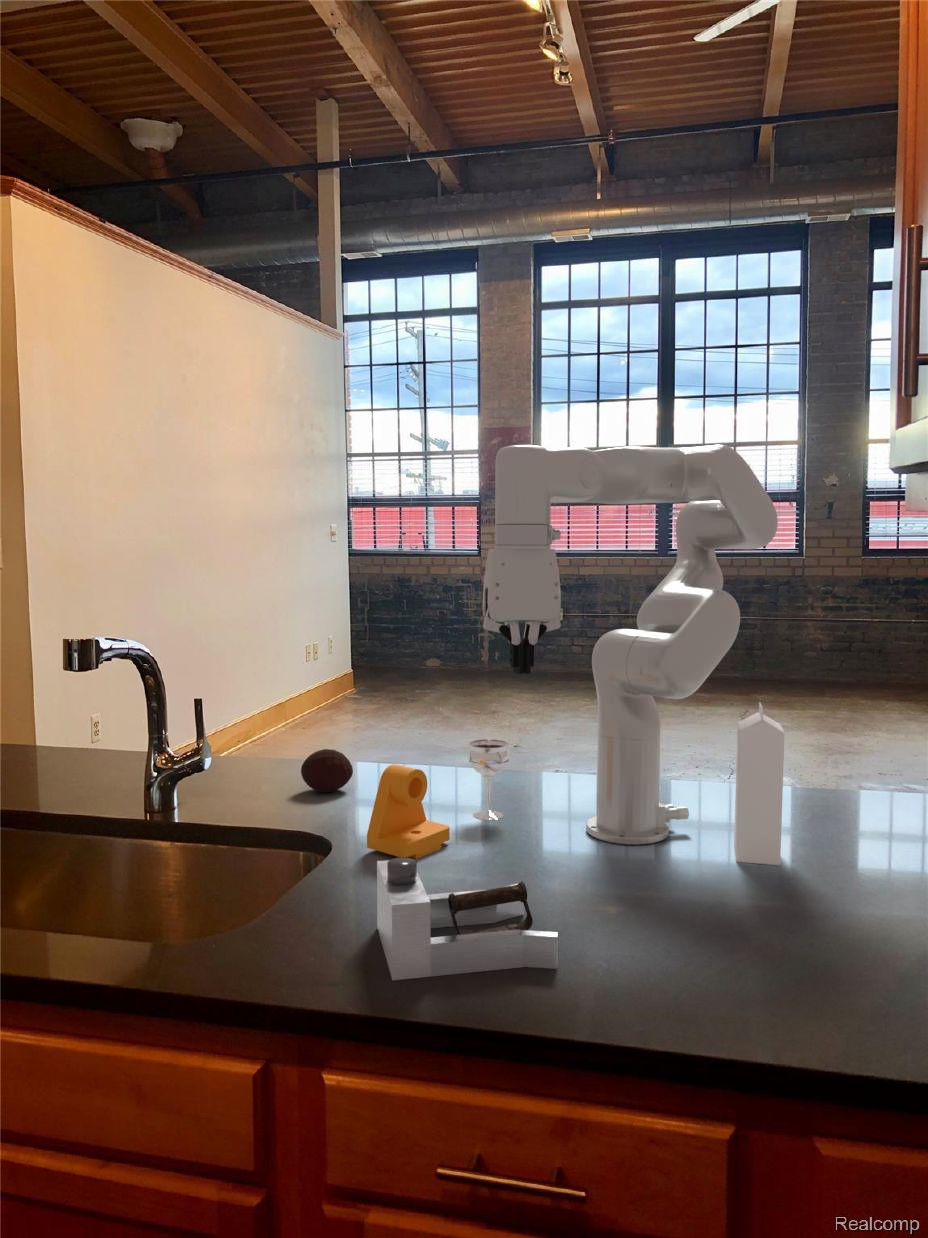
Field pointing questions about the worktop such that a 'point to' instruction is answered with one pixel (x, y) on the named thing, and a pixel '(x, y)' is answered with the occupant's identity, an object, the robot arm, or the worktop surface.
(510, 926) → the clothes iron
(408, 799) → the bracket
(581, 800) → the worktop surface
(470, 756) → the wineglass
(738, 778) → the milk
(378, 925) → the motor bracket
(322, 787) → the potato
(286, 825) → the worktop surface
